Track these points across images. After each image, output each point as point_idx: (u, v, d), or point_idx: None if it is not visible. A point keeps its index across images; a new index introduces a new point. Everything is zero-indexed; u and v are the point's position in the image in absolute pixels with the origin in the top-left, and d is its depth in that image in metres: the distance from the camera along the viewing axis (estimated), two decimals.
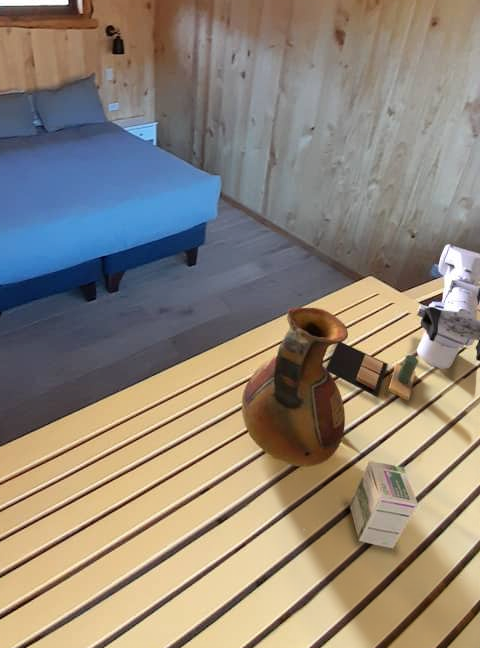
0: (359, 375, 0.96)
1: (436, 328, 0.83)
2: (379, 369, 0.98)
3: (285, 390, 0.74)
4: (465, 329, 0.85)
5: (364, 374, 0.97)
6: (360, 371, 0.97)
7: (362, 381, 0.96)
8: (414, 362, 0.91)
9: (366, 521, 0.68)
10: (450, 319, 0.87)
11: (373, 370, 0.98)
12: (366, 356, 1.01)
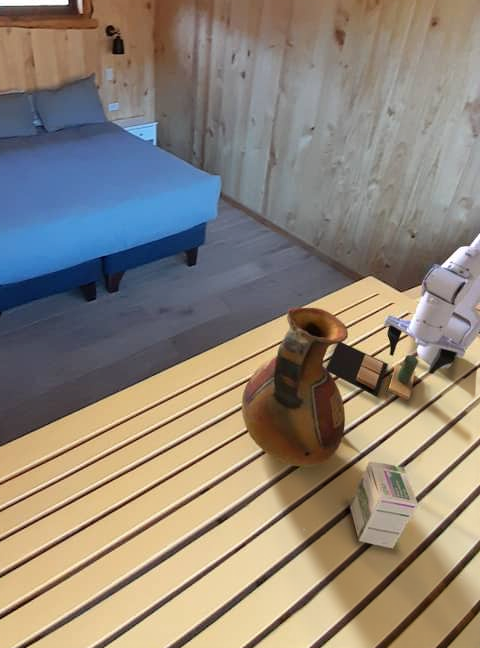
0: (359, 375, 0.96)
1: (392, 351, 0.93)
2: (379, 369, 0.98)
3: (285, 390, 0.74)
4: None
5: (364, 374, 0.97)
6: (360, 371, 0.97)
7: (362, 381, 0.96)
8: (414, 362, 0.91)
9: (366, 521, 0.68)
10: None
11: (373, 370, 0.98)
12: (366, 356, 1.01)
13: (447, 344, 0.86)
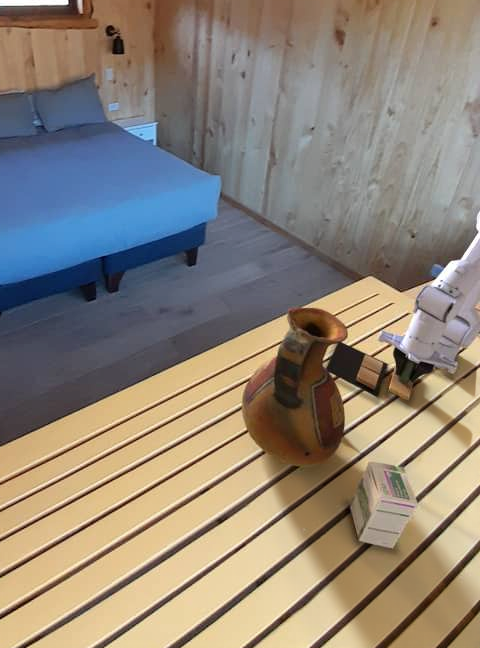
0: (359, 375, 0.96)
1: (398, 371, 0.94)
2: (379, 369, 0.98)
3: (285, 390, 0.74)
4: None
5: (364, 374, 0.97)
6: (360, 371, 0.97)
7: (362, 381, 0.96)
8: (414, 362, 0.91)
9: (366, 521, 0.68)
10: None
11: (373, 370, 0.98)
12: (366, 356, 1.01)
13: (439, 360, 0.88)
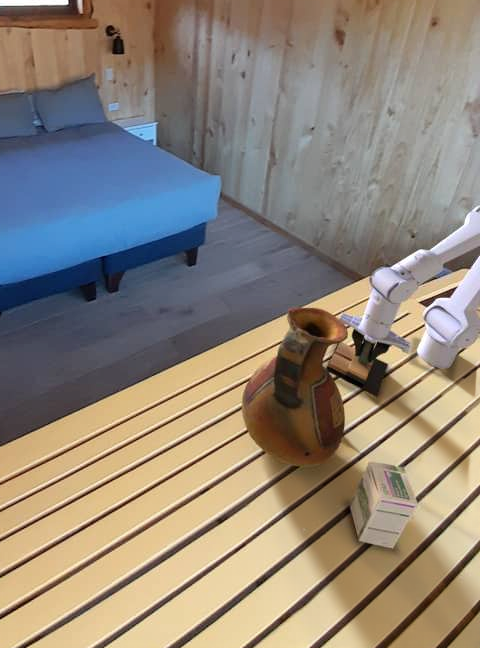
0: (332, 362, 1.00)
1: (357, 352, 0.97)
2: (352, 355, 1.02)
3: (285, 390, 0.74)
4: None
5: (337, 361, 1.00)
6: (333, 358, 1.01)
7: (334, 367, 0.99)
8: (372, 343, 0.94)
9: (366, 521, 0.68)
10: None
11: (346, 356, 1.01)
12: (341, 343, 1.05)
13: (394, 340, 0.91)
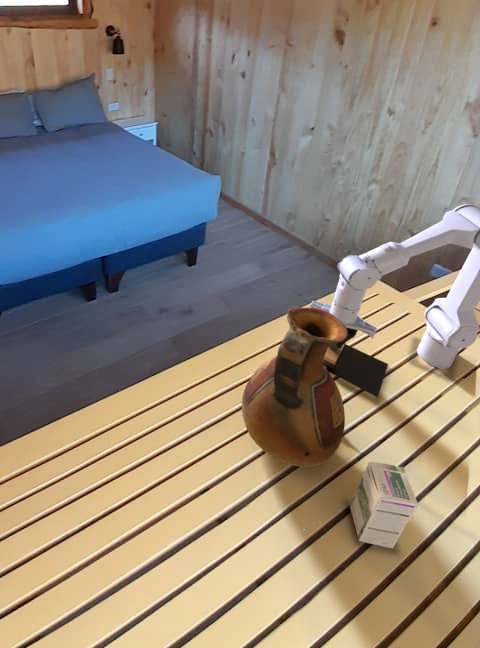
0: None
1: None
2: None
3: (285, 390, 0.74)
4: None
5: None
6: None
7: None
8: None
9: (366, 521, 0.68)
10: None
11: None
12: None
13: (361, 326, 0.95)
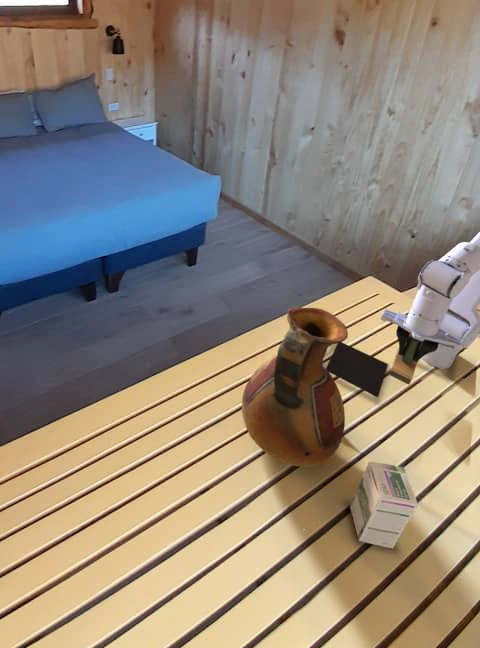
0: None
1: (401, 351, 0.92)
2: None
3: (285, 390, 0.74)
4: None
5: None
6: None
7: None
8: (418, 341, 0.89)
9: (366, 521, 0.68)
10: None
11: None
12: None
13: (444, 338, 0.86)
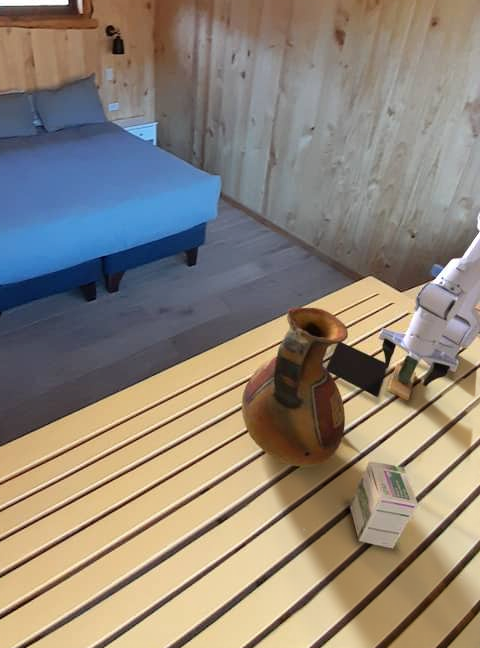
0: None
1: (387, 364, 0.95)
2: None
3: (285, 390, 0.74)
4: None
5: None
6: None
7: None
8: (414, 362, 0.91)
9: (366, 521, 0.68)
10: None
11: None
12: None
13: (440, 358, 0.88)
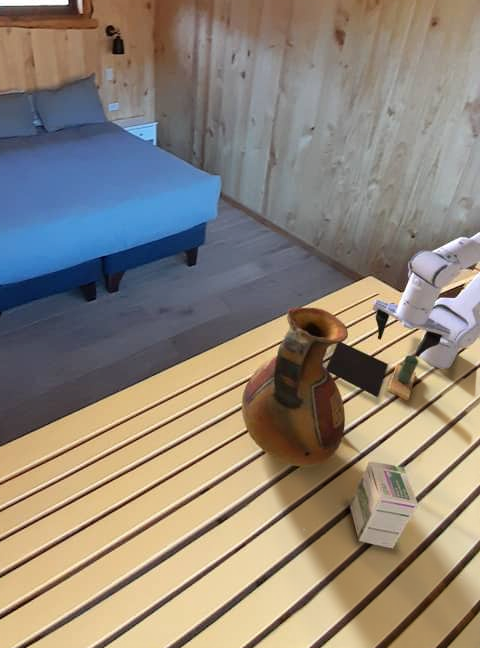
0: None
1: (380, 335, 0.95)
2: None
3: (285, 390, 0.74)
4: None
5: None
6: None
7: None
8: (414, 362, 0.91)
9: (366, 521, 0.68)
10: None
11: None
12: None
13: (433, 327, 0.88)
